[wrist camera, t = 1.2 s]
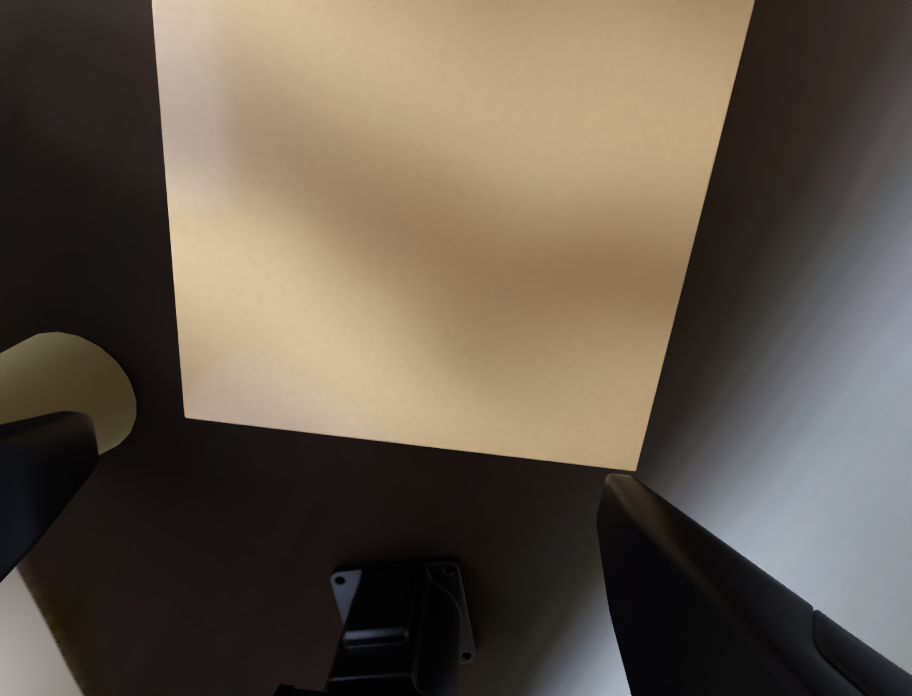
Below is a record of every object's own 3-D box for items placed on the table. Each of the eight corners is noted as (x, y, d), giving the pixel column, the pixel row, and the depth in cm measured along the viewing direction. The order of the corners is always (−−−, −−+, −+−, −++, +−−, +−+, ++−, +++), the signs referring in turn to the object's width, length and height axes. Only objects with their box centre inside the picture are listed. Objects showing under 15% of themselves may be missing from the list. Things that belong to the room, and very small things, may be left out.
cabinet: (252, -45, 17) (138, -153, 12) (679, -1, 17) (778, -88, 11) (262, 354, 22) (184, 418, 16) (596, 393, 22) (636, 472, 16)
